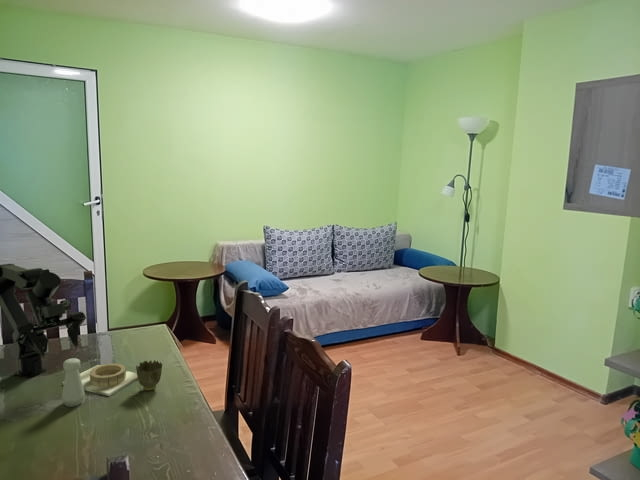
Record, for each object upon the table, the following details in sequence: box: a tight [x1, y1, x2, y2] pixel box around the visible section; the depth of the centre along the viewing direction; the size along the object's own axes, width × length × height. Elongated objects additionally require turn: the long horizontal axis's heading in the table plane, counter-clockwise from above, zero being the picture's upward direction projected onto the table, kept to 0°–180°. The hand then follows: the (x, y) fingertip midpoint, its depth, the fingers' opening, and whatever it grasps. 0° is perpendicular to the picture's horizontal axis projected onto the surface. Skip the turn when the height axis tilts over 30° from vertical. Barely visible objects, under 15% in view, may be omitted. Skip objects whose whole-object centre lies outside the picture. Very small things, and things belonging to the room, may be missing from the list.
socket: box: [62, 363, 138, 397], centre depth 145 cm, size 18×14×4 cm
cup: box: [135, 360, 163, 393], centre depth 141 cm, size 8×7×8 cm
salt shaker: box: [61, 357, 86, 408], centre depth 131 cm, size 6×6×13 cm
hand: (60, 351), depth 135 cm, fingers open, 9 cm apart
